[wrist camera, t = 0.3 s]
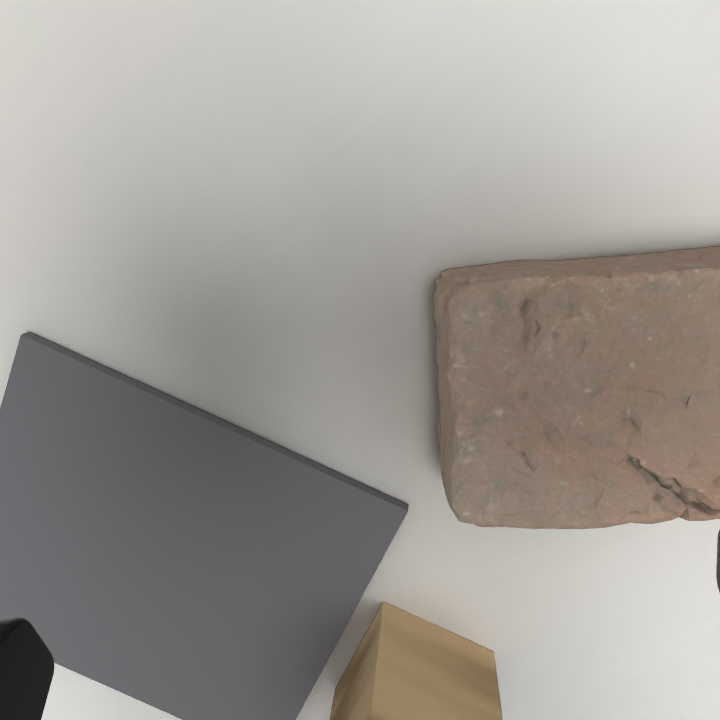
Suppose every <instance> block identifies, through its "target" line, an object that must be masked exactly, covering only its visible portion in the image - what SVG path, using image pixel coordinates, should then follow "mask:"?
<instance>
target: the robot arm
mask: <svg viewBox="0 0 720 720" xmlns="http://www.w3.org/2000/svg"><path fill="white" fill-rule="evenodd" d="M716 578H717V584H718V589H719V592H720V531H719V533H718V544H717V571H716ZM53 673H54V659H53V656H52V654H51V652H50V650H49V649H48V647H47V646H46V645H45V643H44V642H43V640H42V639H41V637H40V636H39V634H38V633H37V631H36V630H35V628H34V627H33V626H32V624H31V623H30V622H29V621H28V620H26V619H24V618H13V619H6V620H0V720H41V718H42V714H43V710H44V707H45V703H46V699H47V696H48V692H49V688H50V685H51V681H52V677H53Z"/></svg>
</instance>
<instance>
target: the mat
mask: <svg viewBox="0 0 720 720" xmlns="http://www.w3.org/2000/svg"><path fill="white" fill-rule="evenodd" d="M407 512H408V504H406V503H404V502H402V501H399V500H397V499H395V498H393V497H391V496H388V495H386V494H384V493H382V492H380V491H377V490H375V489H373V488H371V487H369V486H366V485H364V484H362V483H360V482H358V481H356V480H353V479H351V478H349V477H347V476H345V475H342V474H340V473H338V472H336V471H334V470H331V469H329V468H327V467H325V466H323V465H320V464H318V463H316V462H314V461H312V460H309V459H307V458H305V457H303V456H301V455H299V454H296V453H294V452H292V451H290V450H288V449H285V448H283V447H281V446H279V445H277V444H274V443H272V442H270V441H268V440H266V439H263V438H261V437H259V436H257V435H255V434H252V433H250V432H248V431H246V430H244V429H241V428H239V427H237V426H235V425H233V424H231V423H228V422H226V421H224V420H222V419H220V418H217V417H215V416H213V415H211V414H209V413H206V412H204V411H202V410H200V409H198V408H195V407H193V406H191V405H189V404H187V403H184V402H182V401H180V400H178V399H176V398H174V397H171V396H169V395H167V394H165V393H163V392H160V391H158V390H156V389H154V388H152V387H149V386H147V385H145V384H143V383H141V382H138V381H136V380H134V379H132V378H130V377H127V376H125V375H123V374H121V373H119V372H116V371H114V370H112V369H110V368H108V367H106V366H103V365H101V364H99V363H97V362H95V361H92V360H90V359H88V358H86V357H84V356H81V355H79V354H77V353H75V352H73V351H70V350H68V349H66V348H64V347H62V346H59V345H57V344H55V343H53V342H51V341H49V340H46V339H44V338H42V337H40V336H38V335H35V334H33V333H31V332H27V333H24V334H22V335H21V337H20V340H19V344H18V347H17V351H16V354H15V358H14V362H13V365H12V369H11V372H10V376H9V379H8V383H7V387H6V390H5V394H4V397H3V401H2V404H1V408H0V620H6V619H13V618H24V619H26V620H28V621H29V622H30V623H31V624H32V626H33V627H34V628H35V630H36V631H37V633H38V634H39V636H40V637H41V639H42V640H43V642H44V643H45V645H46V646H47V647H48V649H49V650H50V652H51V654H52V656H53V659H54V663H57V664H59V665H61V666H63V667H66V668H68V669H70V670H72V671H75V672H77V673H79V674H81V675H84V676H86V677H88V678H90V679H93V680H95V681H97V682H99V683H102V684H104V685H106V686H108V687H111V688H113V689H115V690H117V691H120V692H122V693H124V694H126V695H129V696H131V697H133V698H135V699H138V700H140V701H142V702H144V703H147V704H149V705H151V706H153V707H156V708H158V709H160V710H162V711H165V712H167V713H169V714H171V715H174V716H176V717H178V718H180V719H183V720H296V718H297V716H298V714H299V712H300V710H301V708H302V707H303V705H304V703H305V701H306V699H307V697H308V695H309V694H310V692H311V690H312V688H313V686H314V684H315V682H316V681H317V679H318V677H319V675H320V673H321V671H322V669H323V668H324V666H325V664H326V662H327V660H328V658H329V656H330V655H331V653H332V651H333V649H334V647H335V645H336V643H337V642H338V640H339V638H340V636H341V634H342V632H343V630H344V629H345V627H346V625H347V623H348V621H349V619H350V617H351V616H352V614H353V612H354V610H355V608H356V606H357V604H358V603H359V601H360V599H361V597H362V595H363V593H364V591H365V590H366V588H367V586H368V584H369V582H370V580H371V578H372V577H373V575H374V573H375V571H376V569H377V567H378V565H379V564H380V562H381V560H382V558H383V556H384V554H385V552H386V551H387V549H388V547H389V545H390V543H391V541H392V539H393V538H394V536H395V534H396V532H397V530H398V528H399V527H400V525H401V523H402V521H403V519H404V517H405V515H406V514H407Z"/></svg>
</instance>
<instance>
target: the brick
mask: <svg viewBox="0 0 720 720" xmlns="http://www.w3.org/2000/svg"><path fill="white" fill-rule="evenodd" d="M434 309H435V325H436V328H437V332H438V334H437V337H436V338H437V346H438V347H437V353H436V361H437V364H438V368H439V376H438V399H439V403H440V412H439V415H438V422H437V433H438V437H439V446H440V459H441V474H442V480H443V485H444V488H445V493H446V496H447V500H448V503H449V506H450V507H451V509H452V511H453V512H454V514H455V515H456V517H457V519H458V520H459V521H460V522H465V523H470V524H474V525H477V526H480V527H515V528H531V529H588V528H605V527H610V526H615V525H621V524H626V523H631V522H633V523H644V524H654V523H659V522H664V521H669V520H673V519H675V518H677V517H680V518H683V519H685V520H688V521H706V520H712V519H720V246H716V247H705V248H701V249H687V250H675V251H669V252H660V253H651V254H633V255H629V256H601V257H595V258H587V259H574V260H556V261H534V260H515V261H506V262H500V263H495V264H487V265H480V266H468V267H461V268H451V269H448V270H445V271H443V272H441V275H440V279H438V280H436V291H435V293H434Z"/></svg>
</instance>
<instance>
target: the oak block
mask: <svg viewBox="0 0 720 720" xmlns="http://www.w3.org/2000/svg"><path fill="white" fill-rule="evenodd" d="M330 720H503V719H502V711H501V703H500V696H499V688H498V680H497V673H496V665H495V658H494V651H491V650H489V649H487V648H485V647H483V646H480V645H478V644H476V643H474V642H472V641H469V640H467V639H465V638H463V637H460V636H458V635H456V634H454V633H452V632H449V631H447V630H445V629H443V628H441V627H438V626H436V625H434V624H432V623H430V622H427V621H425V620H423V619H421V618H418V617H416V616H414V615H412V614H410V613H407V612H405V611H403V610H401V609H399V608H396V607H394V606H392V605H390V604H388V603H385V602H383V603H382V605H381V607H380V609H379V611H378V612H377V614H376V616H375V618H374V620H373V621H372V623H371V625H370V627H369V629H368V630H367V632H366V634H365V636H364V638H363V639H362V641H361V643H360V645H359V647H358V648H357V650H356V652H355V654H354V656H353V657H352V659H351V661H350V663H349V665H348V667H347V668H346V670H345V672H344V674H343V676H342V677H341V679H340V681H339V683H338V685H337V686H336V688H335V693H334V699H333V704H332V709H331V715H330Z"/></svg>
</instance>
